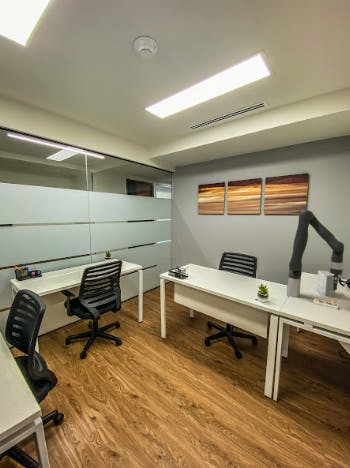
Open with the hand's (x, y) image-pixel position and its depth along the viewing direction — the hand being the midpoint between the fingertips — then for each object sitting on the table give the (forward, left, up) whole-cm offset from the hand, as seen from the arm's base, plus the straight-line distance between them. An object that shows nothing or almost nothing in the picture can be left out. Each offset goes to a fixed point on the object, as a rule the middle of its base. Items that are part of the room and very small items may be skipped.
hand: (334, 288), depth 157 cm
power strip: (-8, 0, -15) cm, 17 cm away
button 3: (-3, -4, -12) cm, 13 cm away
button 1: (-11, +2, -14) cm, 17 cm away
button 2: (-7, -1, -14) cm, 15 cm away
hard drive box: (+8, +23, -15) cm, 29 cm away
